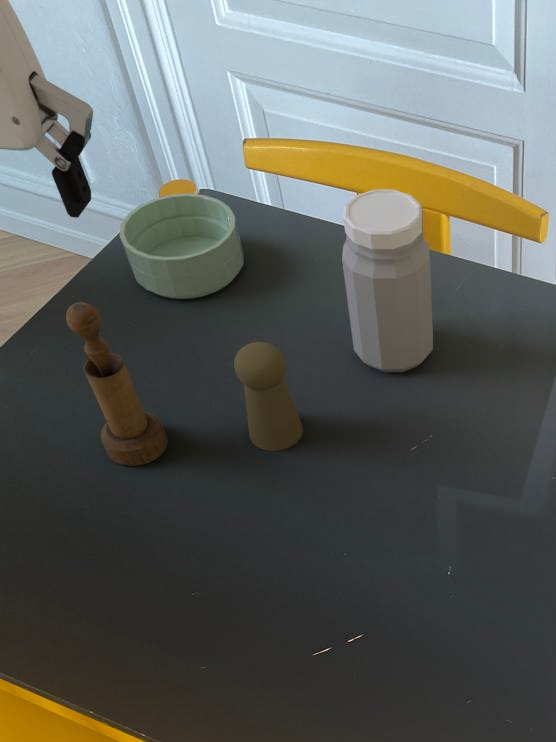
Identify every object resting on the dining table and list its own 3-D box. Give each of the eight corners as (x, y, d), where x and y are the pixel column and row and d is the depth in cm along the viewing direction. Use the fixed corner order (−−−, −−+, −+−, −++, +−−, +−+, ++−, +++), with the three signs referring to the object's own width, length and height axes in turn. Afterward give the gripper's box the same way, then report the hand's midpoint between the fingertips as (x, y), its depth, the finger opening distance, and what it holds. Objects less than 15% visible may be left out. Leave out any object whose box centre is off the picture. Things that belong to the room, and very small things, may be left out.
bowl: (117, 295, 113) (101, 252, 108) (158, 231, 121) (145, 188, 116) (224, 308, 112) (212, 265, 107) (258, 242, 120) (249, 200, 115)
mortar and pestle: (175, 427, 100) (123, 288, 85) (158, 469, 97) (101, 331, 82) (118, 423, 101) (56, 283, 86) (98, 464, 97) (31, 326, 82)
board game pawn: (305, 412, 102) (288, 332, 93) (300, 450, 99) (283, 371, 89) (252, 413, 102) (230, 333, 93) (246, 451, 98) (223, 372, 89)
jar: (422, 383, 105) (414, 243, 90) (343, 370, 106) (322, 229, 91) (443, 331, 110) (439, 191, 95) (367, 319, 111) (352, 178, 96)
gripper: (-227, -25, 59) (-91, 216, 74) (16, -3, 58) (106, 239, 72) (-164, -70, 63) (-47, 167, 78) (65, -49, 62) (140, 188, 76)
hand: (26, 202), depth 75 cm, fingers open, 9 cm apart
